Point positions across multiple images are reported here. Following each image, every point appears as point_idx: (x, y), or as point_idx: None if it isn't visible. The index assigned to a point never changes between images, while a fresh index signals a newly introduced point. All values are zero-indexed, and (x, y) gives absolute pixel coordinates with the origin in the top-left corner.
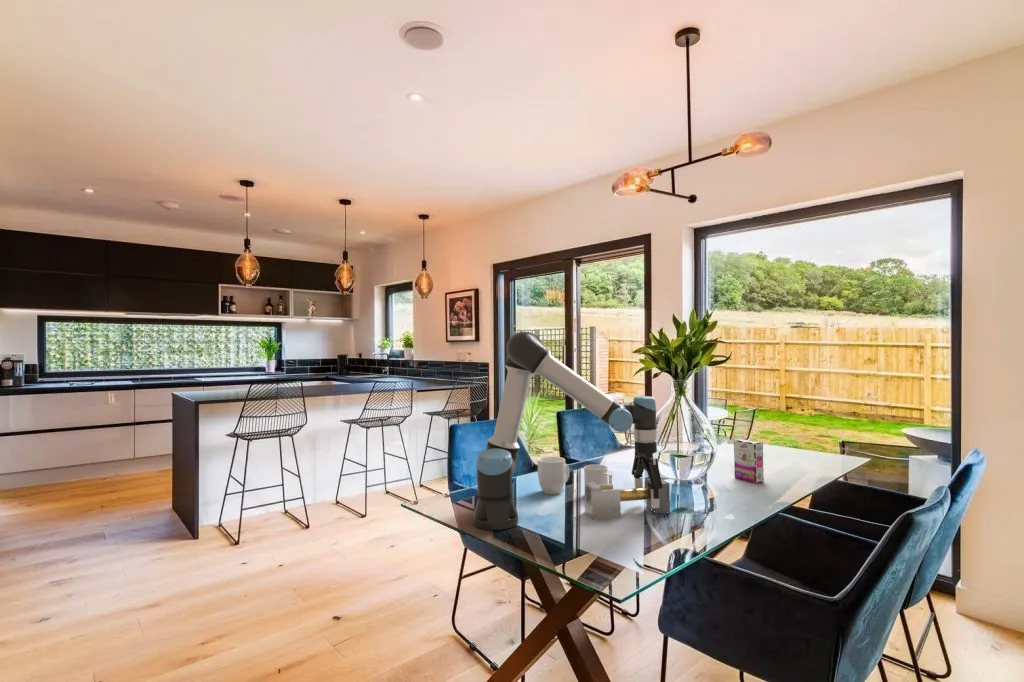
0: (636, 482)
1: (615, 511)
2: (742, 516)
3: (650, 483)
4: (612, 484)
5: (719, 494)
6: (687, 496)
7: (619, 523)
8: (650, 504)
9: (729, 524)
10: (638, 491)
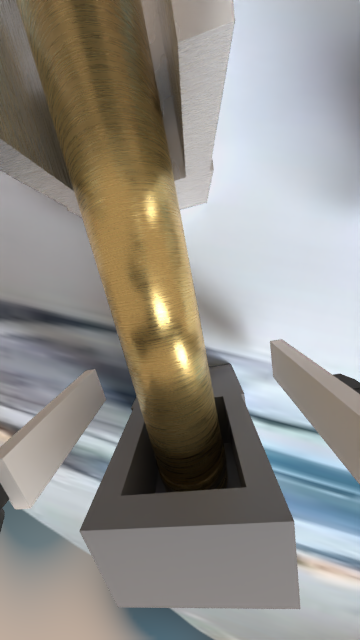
0: (331, 400)
1: None
2: None
3: (190, 494)
4: (199, 33)
5: (323, 583)
6: (328, 514)
7: (25, 209)
8: None
9: (68, 514)
10: (126, 357)
